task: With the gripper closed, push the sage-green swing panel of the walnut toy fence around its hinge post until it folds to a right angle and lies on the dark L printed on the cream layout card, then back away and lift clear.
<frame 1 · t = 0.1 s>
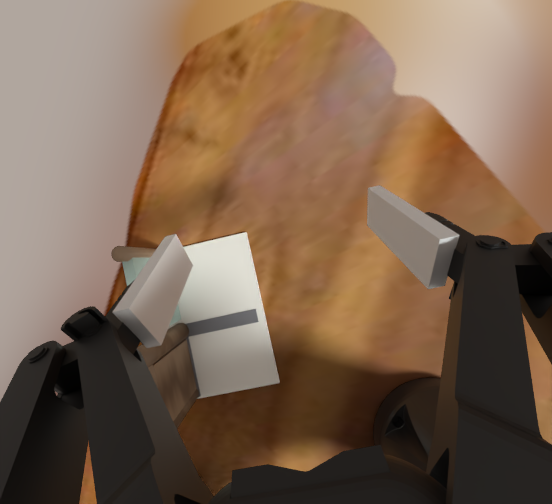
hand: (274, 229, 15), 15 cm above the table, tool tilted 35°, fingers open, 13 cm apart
swing panel: (151, 288, 26), point 5 cm above the table, hinge at 0.0°
fixed fence: (182, 330, 31), resting on layout card
layout card: (211, 317, 31), on the table
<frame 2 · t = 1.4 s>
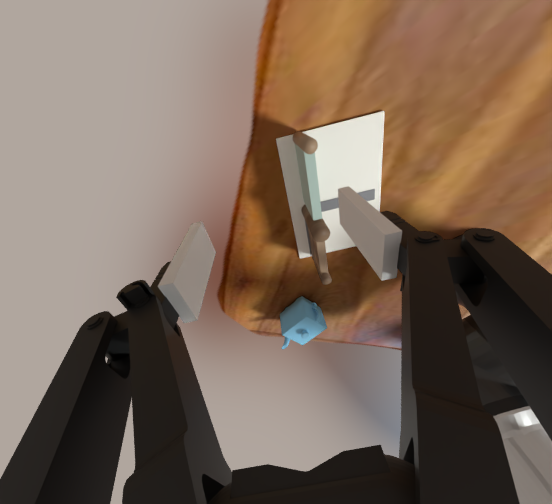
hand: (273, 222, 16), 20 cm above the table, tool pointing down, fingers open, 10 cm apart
swing panel: (308, 176, 29), point 5 cm above the table, hinge at 0.0°
fixed fence: (308, 208, 37), resting on layout card
layout card: (334, 196, 36), on the table
teapot: (296, 309, 51), on the table
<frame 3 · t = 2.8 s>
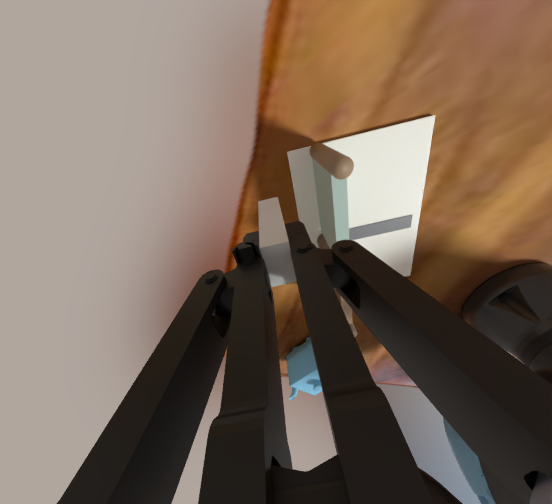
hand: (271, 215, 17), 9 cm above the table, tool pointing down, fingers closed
swing panel: (331, 203, 21), point 5 cm above the table, hinge at 0.0°
fixed fence: (325, 238, 29), resting on layout card
layout card: (359, 224, 28), on the table
teapot: (305, 348, 43), on the table
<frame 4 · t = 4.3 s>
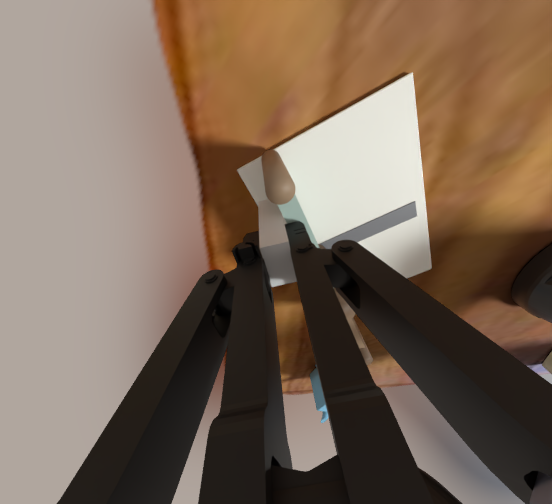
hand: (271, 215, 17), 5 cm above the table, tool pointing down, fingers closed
swing panel: (298, 221, 17), point 5 cm above the table, hinge at 0.0°, touching gripper
fixed fence: (314, 250, 25), resting on layout card
layout card: (350, 226, 23), on the table
teapot: (330, 362, 39), on the table
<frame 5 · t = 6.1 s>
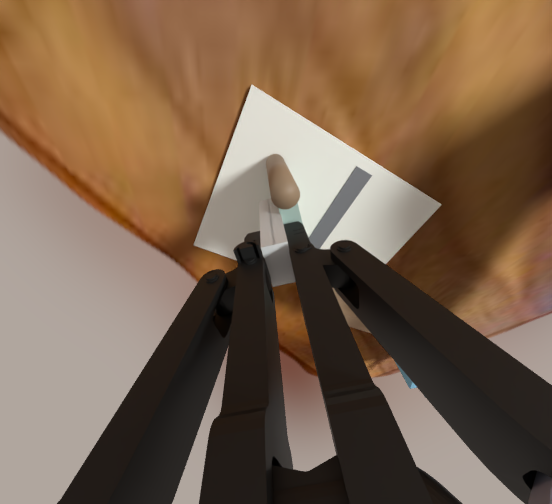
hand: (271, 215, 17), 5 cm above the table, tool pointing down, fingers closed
swing panel: (293, 228, 18), point 5 cm above the table, hinge at -46.7°, touching gripper
fixed fence: (301, 258, 25), resting on layout card
layout card: (315, 223, 23), on the table
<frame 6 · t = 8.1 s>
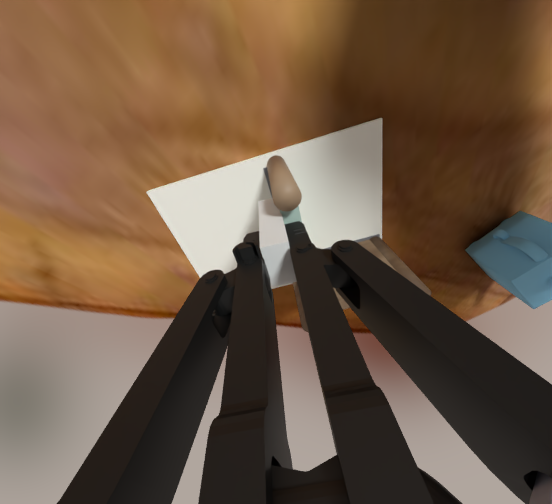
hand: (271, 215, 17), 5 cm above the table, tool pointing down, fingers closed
swing panel: (292, 229, 18), point 5 cm above the table, hinge at -91.3°, touching gripper
fixed fence: (298, 259, 25), resting on layout card
layout card: (280, 229, 23), on the table
teapot: (497, 245, 27), on the table
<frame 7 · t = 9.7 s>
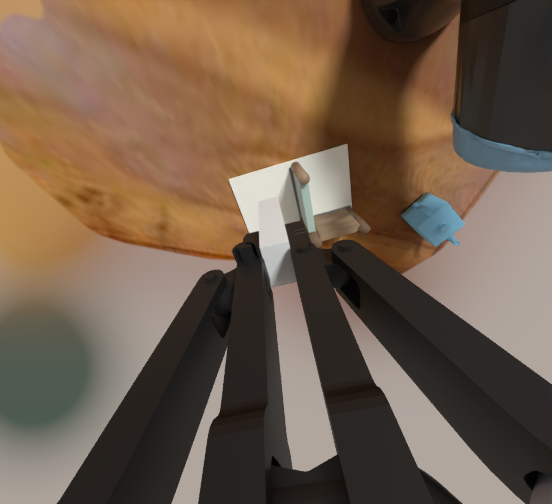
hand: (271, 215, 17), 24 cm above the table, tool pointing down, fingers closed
swing panel: (304, 197, 36), point 5 cm above the table, hinge at -91.3°
fixed fence: (304, 221, 44), resting on layout card
layout card: (295, 201, 42), on the table
teapot: (421, 214, 46), on the table
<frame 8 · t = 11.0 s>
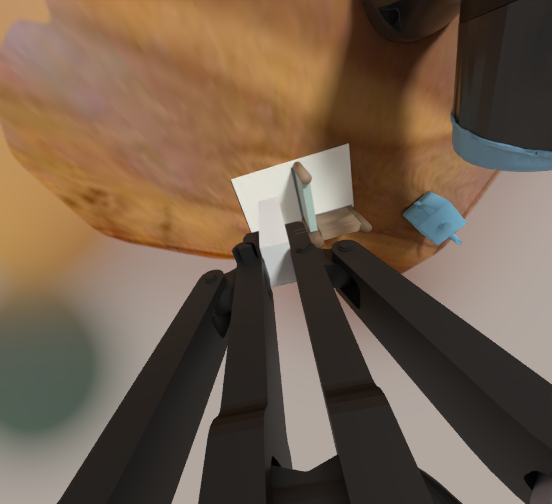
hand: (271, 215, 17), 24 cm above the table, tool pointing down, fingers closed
swing panel: (305, 197, 37), point 5 cm above the table, hinge at -91.3°
fixed fence: (306, 220, 44), resting on layout card
layout card: (297, 201, 42), on the table
teapot: (422, 213, 46), on the table
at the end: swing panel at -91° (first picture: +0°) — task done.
